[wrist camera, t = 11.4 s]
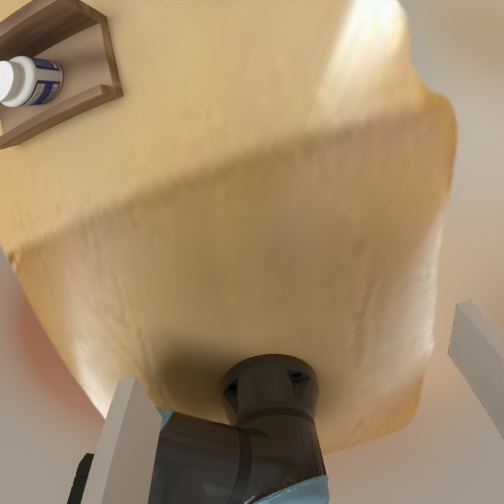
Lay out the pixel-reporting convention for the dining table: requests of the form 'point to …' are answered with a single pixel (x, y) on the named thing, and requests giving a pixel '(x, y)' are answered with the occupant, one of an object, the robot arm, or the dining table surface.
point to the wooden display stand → (66, 55)
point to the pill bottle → (29, 81)
